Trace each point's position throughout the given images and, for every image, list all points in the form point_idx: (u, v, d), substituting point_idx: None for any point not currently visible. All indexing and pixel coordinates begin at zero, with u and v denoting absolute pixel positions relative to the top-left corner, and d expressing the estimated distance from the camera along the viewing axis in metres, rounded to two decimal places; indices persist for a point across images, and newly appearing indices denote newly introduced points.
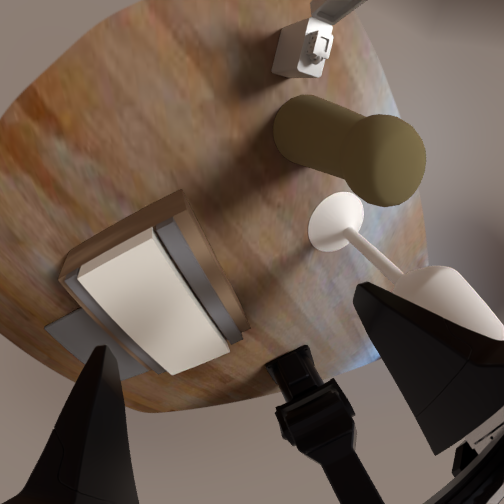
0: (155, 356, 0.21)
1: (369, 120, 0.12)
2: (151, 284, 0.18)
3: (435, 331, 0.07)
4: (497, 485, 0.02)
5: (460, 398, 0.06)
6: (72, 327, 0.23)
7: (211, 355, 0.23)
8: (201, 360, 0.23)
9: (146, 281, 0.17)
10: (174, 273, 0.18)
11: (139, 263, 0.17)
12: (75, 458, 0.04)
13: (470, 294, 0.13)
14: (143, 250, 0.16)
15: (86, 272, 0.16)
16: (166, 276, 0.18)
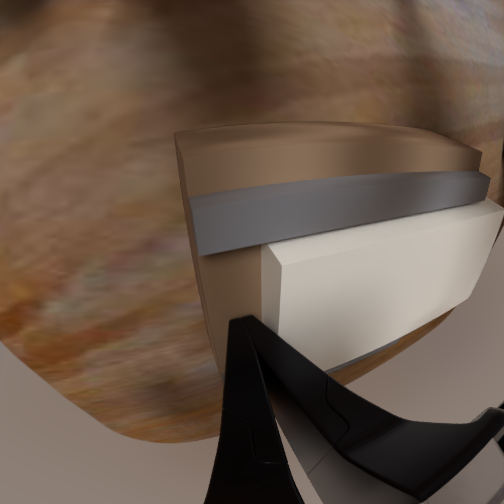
0: (442, 311, 0.12)
1: None
2: (365, 290, 0.08)
3: (304, 394, 0.06)
4: None
5: (334, 479, 0.04)
6: None
7: (492, 237, 0.10)
8: (487, 253, 0.11)
9: (354, 297, 0.08)
10: (377, 242, 0.07)
11: (316, 300, 0.08)
12: (264, 432, 0.05)
13: None
14: (297, 288, 0.07)
15: None
16: (373, 259, 0.08)
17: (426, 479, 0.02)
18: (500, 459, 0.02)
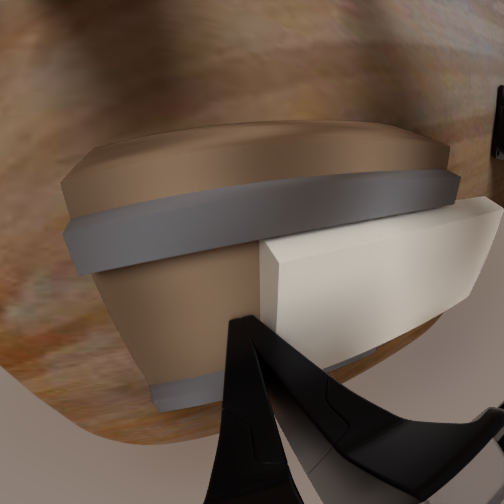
0: (440, 310, 0.12)
1: None
2: (363, 288, 0.08)
3: (304, 394, 0.06)
4: None
5: (335, 479, 0.04)
6: None
7: (491, 237, 0.11)
8: (486, 252, 0.11)
9: (352, 295, 0.08)
10: (374, 240, 0.08)
11: (314, 298, 0.08)
12: (264, 432, 0.05)
13: None
14: (294, 286, 0.07)
15: None
16: (370, 257, 0.08)
17: (426, 479, 0.02)
18: (500, 459, 0.02)
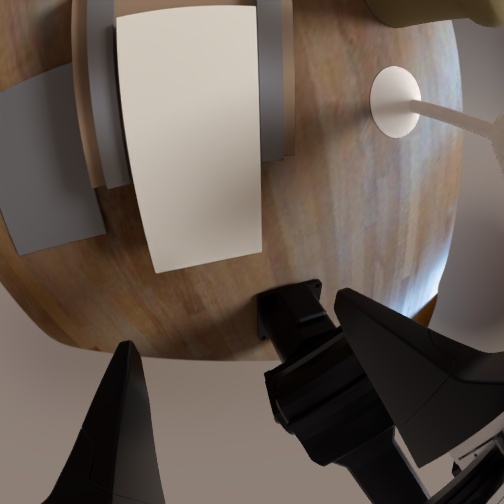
0: (148, 216, 0.13)
1: None
2: (218, 64, 0.10)
3: (416, 342, 0.07)
4: None
5: (442, 413, 0.05)
6: (14, 106, 0.11)
7: (233, 248, 0.15)
8: (214, 253, 0.15)
9: (214, 56, 0.10)
10: (256, 64, 0.10)
11: (221, 26, 0.09)
12: (107, 458, 0.04)
13: None
14: (236, 14, 0.09)
15: (135, 14, 0.08)
16: (245, 62, 0.10)
17: None
18: None
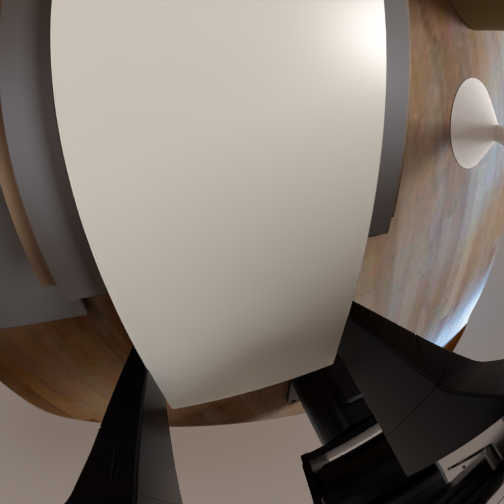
0: (151, 353, 0.06)
1: None
2: (310, 28, 0.04)
3: (403, 350, 0.06)
4: None
5: (429, 423, 0.05)
6: None
7: (294, 370, 0.09)
8: (266, 380, 0.09)
9: (301, 8, 0.03)
10: (382, 47, 0.04)
11: None
12: (129, 457, 0.04)
13: None
14: None
15: None
16: (365, 37, 0.04)
17: None
18: None
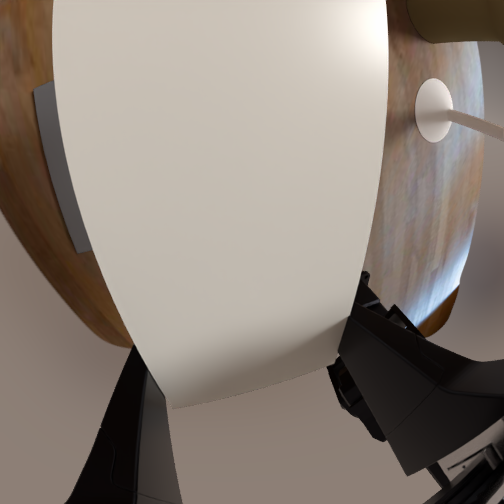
0: (153, 352, 0.06)
1: None
2: (312, 27, 0.04)
3: (403, 350, 0.06)
4: None
5: (429, 423, 0.05)
6: None
7: (296, 369, 0.09)
8: (267, 380, 0.09)
9: (303, 7, 0.03)
10: (384, 46, 0.04)
11: None
12: (129, 457, 0.04)
13: None
14: None
15: None
16: (367, 36, 0.04)
17: None
18: None
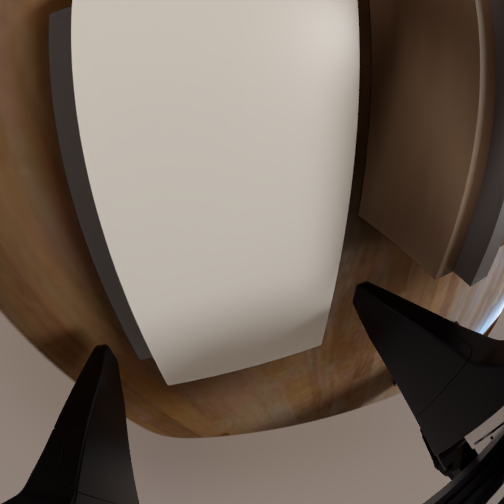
0: (149, 323, 0.07)
1: None
2: (289, 35, 0.04)
3: (435, 331, 0.07)
4: (497, 485, 0.02)
5: (460, 398, 0.06)
6: None
7: (284, 348, 0.10)
8: (256, 358, 0.09)
9: (281, 18, 0.04)
10: (356, 48, 0.05)
11: None
12: (75, 458, 0.04)
13: None
14: None
15: None
16: (339, 40, 0.05)
17: None
18: None
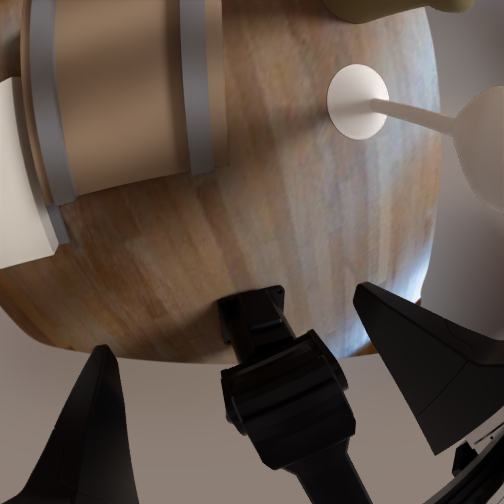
0: None
1: None
2: None
3: (435, 331, 0.07)
4: (497, 485, 0.02)
5: (460, 398, 0.06)
6: None
7: (34, 252, 0.16)
8: (24, 256, 0.15)
9: None
10: (15, 120, 0.11)
11: None
12: (75, 458, 0.04)
13: None
14: (1, 88, 0.09)
15: None
16: (9, 121, 0.11)
17: None
18: None
